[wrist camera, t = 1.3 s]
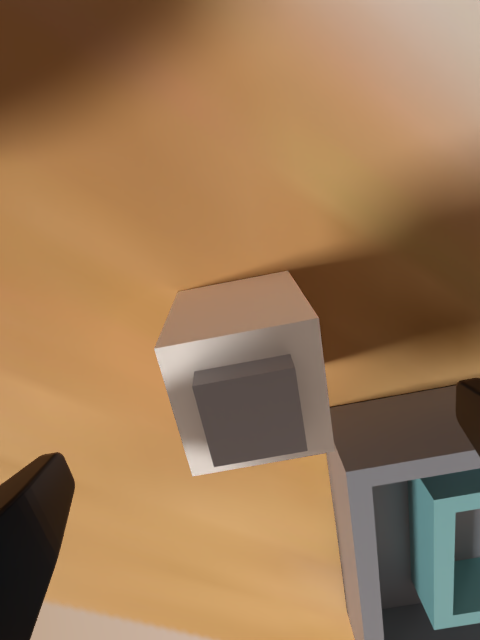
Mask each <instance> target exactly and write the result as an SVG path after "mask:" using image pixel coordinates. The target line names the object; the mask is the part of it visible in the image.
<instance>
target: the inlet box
mask: <svg viewBox="0 0 480 640" xmlns="http://www.w3.org/2000/svg"><path fill="white" fill-rule="evenodd" d="M455 407H456V385H454V386H449V387H443V388H438V389H432V390H426V391H421V392H415V393H410V394H404V395H398V396H393V397H387V398H382V399H376V400H370V401H365V402H359V403H354V404H348V405H342V406H337V407H331V408H330V415H331V423H332V432H333V440H334V448H335V452H329V453H326V454H327V461H328V469H329V477H330V484H331V492H332V500H333V507H334V515H335V522H336V530H337V538H338V545H339V553H340V561H341V568H342V576H343V583H344V591H345V599H346V606H347V613H348V616H349V620H350V624H351V627H352V631H353V634H354V638H355V640H480V457H479V455H478V454H477V452H476V451H475V449H474V447H473V446H472V444H471V442H470V441H469V439H468V438H467V436H466V434H465V433H464V431H463V429H462V428H461V426H460V425H459V423H458V421H457V418H456V412H455Z"/></svg>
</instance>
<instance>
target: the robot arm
mask: <svg viewBox="0 0 480 640" xmlns="http://www.w3.org/2000/svg"><path fill="white" fill-rule="evenodd" d="M455 412H456V418H457V421H458V423H459V425H460V426H461V428H462V429H463V431H464V433H465V434H466V436H467V438H468V439H469V441H470V442H471V444H472V446H473V447H474V449H475V451H476V452H477V454H478V455H479V457H480V378H472V379H467V380H461V381H459V382H458V383H457V385H456V407H455ZM74 489H75V482H74V478H73V476H72V474H71V472H70V469H69V467H68V465H67V463H66V460H65V458H64V456H63V455H62V454H61V453H58V452H56V453H50V454H45V455H41V456H39V457H38V458H37V459H35V460H34V461H33V462H31V463H30V464H28V465H27V466H26V467H24V468H23V469H22V470H20V471H19V472H18V473H16V474H15V475H14V476H12V477H11V478H9V479H8V480H7V481H5V482H4V483H3V484H1V485H0V640H30V638H31V635H32V632H33V629H34V626H35V623H36V621H37V618H38V615H39V612H40V609H41V606H42V603H43V600H44V597H45V594H46V592H47V589H48V586H49V583H50V580H51V577H52V574H53V571H54V568H55V565H56V562H57V559H58V555H59V552H60V548H61V544H62V540H63V536H64V531H65V527H66V523H67V519H68V515H69V511H70V507H71V502H72V498H73V494H74Z"/></svg>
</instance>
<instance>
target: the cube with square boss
mask: <svg viewBox="0 0 480 640" xmlns="http://www.w3.org/2000/svg"><path fill="white" fill-rule="evenodd" d="M154 350H155V353H156V356H157V360H158V363H159V366H160V370H161V373H162V376H163V380H164V383H165V386H166V390H167V393H168V396H169V400H170V403H171V406H172V410H173V413H174V416H175V420H176V423H177V426H178V430H179V433H180V436H181V440H182V443H183V446H184V450H185V453H186V456H187V460H188V463H189V466H190V470H191V473H192V476H197V475H203V474H209V473H215V472H220V471H226V470H232V469H238V468H243V467H249V466H255V465H260V464H266V463H272V462H278V461H283V460H289V459H295V458H301V457H306V456H312V455H318V454H323V453H329V452H335V448H334V440H333V432H332V423H331V415H330V407H329V398H328V390H327V382H326V373H325V365H324V357H323V348H322V340H321V332H320V323H319V317H318V316H317V314H316V313H315V311H314V310H313V308H312V307H311V305H310V304H309V302H308V301H307V299H306V297H305V296H304V294H303V293H302V291H301V290H300V288H299V287H298V285H297V284H296V282H295V281H294V279H293V278H292V276H291V274H290V273H289V271H283V272H278V273H273V274H268V275H262V276H257V277H252V278H247V279H241V280H236V281H231V282H226V283H221V284H215V285H210V286H205V287H200V288H194V289H189V290H184V291H179V292H177V295H176V297H175V300H174V302H173V305H172V307H171V309H170V312H169V314H168V317H167V319H166V321H165V324H164V326H163V329H162V331H161V334H160V336H159V338H158V341H157V343H156V346H155V348H154Z"/></svg>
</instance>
